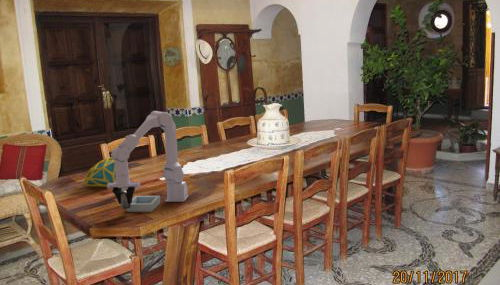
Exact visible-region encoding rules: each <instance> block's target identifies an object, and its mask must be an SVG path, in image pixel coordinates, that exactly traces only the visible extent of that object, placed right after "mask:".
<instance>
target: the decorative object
mask: <svg viewBox="0 0 500 285" xmlns="http://www.w3.org/2000/svg"><path fill="white" fill-rule="evenodd" d="M115 182H116V174H115V166H114V159H113V158H112V157H111V156H110V157H106V158H104V159H102V160H100V161H99V162H97V163H96V164H94V165H93V166H92V167H90V168H89V170H88V171H87V173H86V175H85V176H84V186H86V187H94V188H107V184H108V183H115Z"/></svg>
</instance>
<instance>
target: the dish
mask: <svg viewBox="0 0 500 285" xmlns="http://www.w3.org/2000/svg"><path fill="white" fill-rule="evenodd" d="M160 204H161V196H160V195H135V196H134V197H132V203H131V204H130V206H131V207H130V208H128V209H126V212H128V213H131V212H132V213H134V212H135V213H141V212H142V213H143V212H144V213H149V212H150V213H152V212H154V211H155V210H156V208H158V206H159V205H160Z"/></svg>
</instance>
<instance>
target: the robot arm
mask: <svg viewBox="0 0 500 285" xmlns="http://www.w3.org/2000/svg"><path fill="white" fill-rule="evenodd" d="M157 127H160V128H161V129H162V130H163V132H164V143H165V158H166V159H165V160H166V163H165V164H164V165H163V171H162V176H163V178H164V179H165V181H166V193H167V198H166V200H164V201H165V203H166V202H169V203H170V202H172V203H173V202H174V203H176V202H178V203H179V202H182V203H183V202H186V200H187V198H189V193H188V184H187V181H183V179H184V178H185V173H184V171H183V167H182V165H181V164H180V163H179V157H178V156H179V154H178V152H179V151H178V138H177V137H178V135H177V125H176V123H175V121H174V119H173V116H172V114H170V113H169V112H166V111H157V110H153V111H151V112H150V114H148V115H147V116H146V118H145V120H144V122H142V124H141V125H140V126H139V127H138V129H136V131H134V133H133V134H129V135H126V136H124V138H125V139H124V140H123V141H122V142H120V143H119V144H118V146H116V147H114V148H113V149H112V151H111V153H110V157H112V158H113V159H114V166H115V174H116V178H115V180H116V183H108V184H107V187H106V189H112V190H111V191H112V193H113V194H114V196H115V198H116V199H117V202H118V205H121V200H120V192H121V190H122V188H128V189H127V190H126V192H127V195H128V202H129V204H131V203H132V199H133V198H134V197H133V196H134V193H135V190H136V189H140V188H141V183H140V182H135V181H134V182H133V181H130V171H129V163H128V159H129V158H130V154H131V153H132V152H133V150H135V148H137V146H139V144H140V139H141V138H142V137H143V136H145V134H147V132H148V131H150V130H151V129H152V128H157Z"/></svg>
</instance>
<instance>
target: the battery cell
mask: <svg viewBox="0 0 500 285" xmlns="http://www.w3.org/2000/svg"><path fill="white" fill-rule="evenodd" d="M120 200H121V204H120V207H121V209H122V210H127V209H128V208H130V207H131V206H130V204H129V202H128V195H127V192H126V191H122V192H120Z"/></svg>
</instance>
